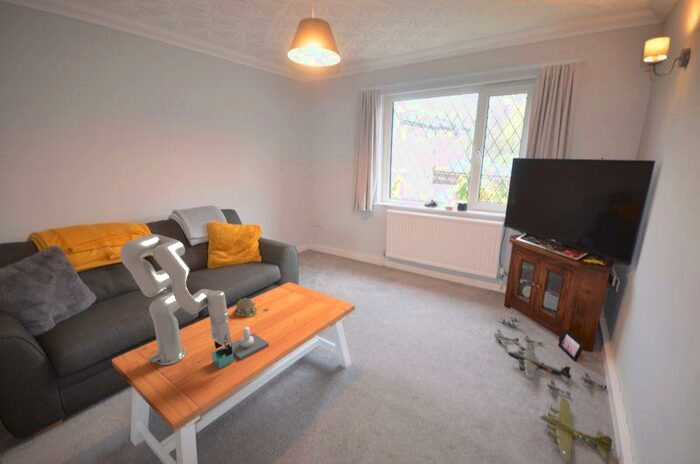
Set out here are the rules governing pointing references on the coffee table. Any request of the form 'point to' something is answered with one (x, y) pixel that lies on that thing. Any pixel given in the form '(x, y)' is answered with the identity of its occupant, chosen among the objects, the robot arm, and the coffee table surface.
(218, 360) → the collar
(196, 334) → the coffee table surface
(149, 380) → the coffee table surface
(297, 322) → the coffee table surface
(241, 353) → the post plate
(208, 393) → the coffee table surface
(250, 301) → the ceramic model
